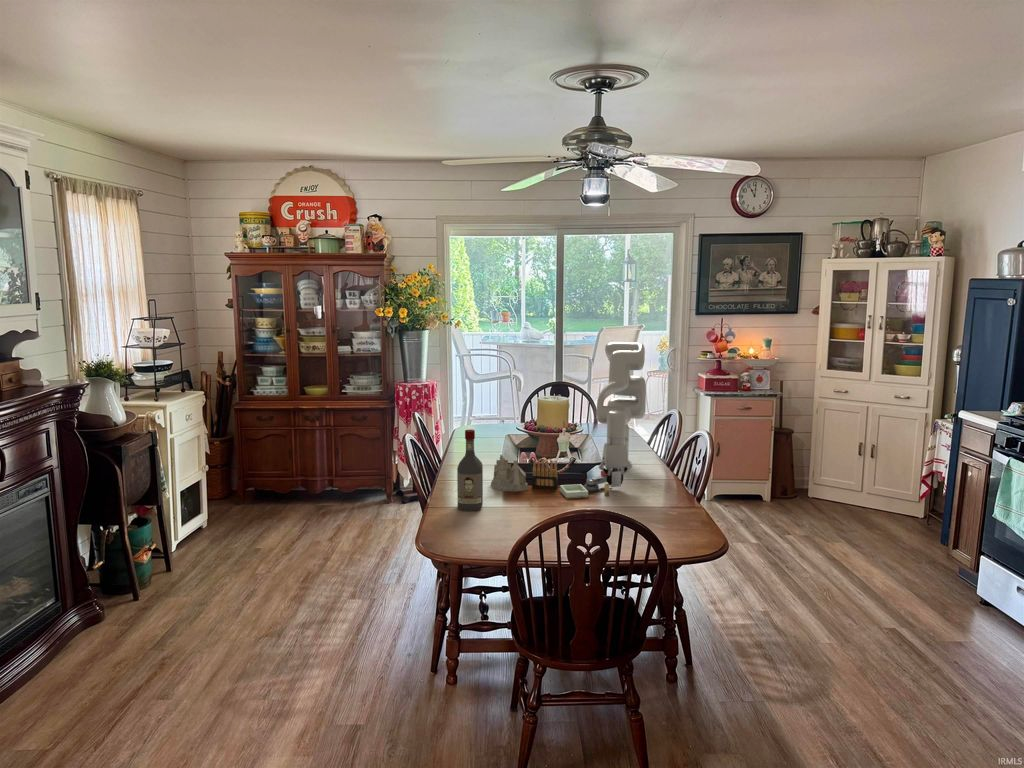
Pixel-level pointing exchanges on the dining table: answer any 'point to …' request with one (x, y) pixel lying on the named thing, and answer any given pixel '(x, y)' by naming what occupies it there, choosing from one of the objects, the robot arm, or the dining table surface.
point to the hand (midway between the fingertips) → (614, 482)
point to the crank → (597, 480)
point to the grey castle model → (508, 476)
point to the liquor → (470, 477)
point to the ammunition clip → (545, 476)
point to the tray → (573, 491)
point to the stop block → (615, 477)
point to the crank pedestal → (596, 489)
